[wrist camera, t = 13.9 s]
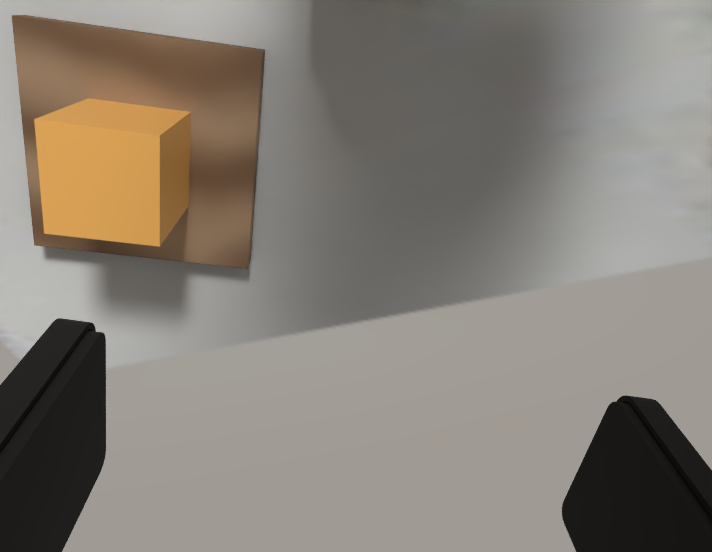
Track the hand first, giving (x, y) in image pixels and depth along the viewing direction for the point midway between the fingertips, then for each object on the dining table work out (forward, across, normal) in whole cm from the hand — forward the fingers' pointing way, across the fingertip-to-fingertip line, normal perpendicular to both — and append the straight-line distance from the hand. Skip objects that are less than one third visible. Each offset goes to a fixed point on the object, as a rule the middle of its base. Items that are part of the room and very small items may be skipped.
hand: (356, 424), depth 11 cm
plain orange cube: (+28, +12, +4) cm, 31 cm away
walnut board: (+29, +12, +4) cm, 32 cm away
